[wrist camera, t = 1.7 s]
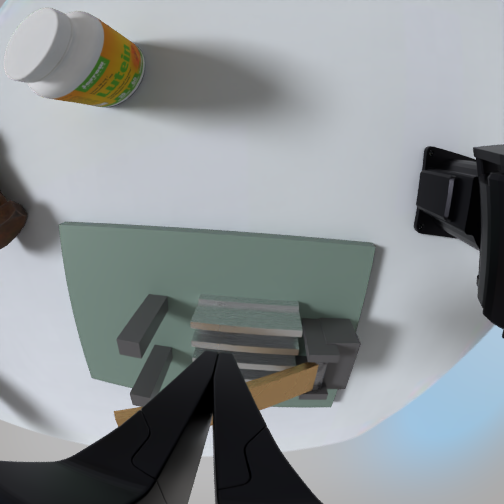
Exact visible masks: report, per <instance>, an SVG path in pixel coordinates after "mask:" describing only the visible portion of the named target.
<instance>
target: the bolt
mask: <svg viewBox="0 0 504 504" xmlns="http://www.w3.org/2000/svg"><path fill="white" fill-rule="evenodd" d="M26 220H27V213H26V211H25V210H24V208H23V206H22V205H20V204H18V203H16V202H14V201H11V200H10V201H8V202H7V200H6V198H5V196H3V194H2V192H1V191H0V249H2V248H3V247H5V246H7V245H8V244H9V243H10V242H11V241H12V240H13V239H14V238H15V237H16V236H17V235H18V234H19V233H20V232H21V230H22V228H23V227H24V225H25V223H26Z"/></svg>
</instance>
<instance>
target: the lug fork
mask: <svg viewBox="0 0 504 504" xmlns="http://www.w3.org/2000/svg"><path fill="white" fill-rule="evenodd" d="M167 312H168V297H167V296H162V295H154V294H148V296H147V297H146V298H145V300H144V301H143V303H142V304H141V305H140V307H139V308H138V309H137V311H136V312H135V313H134V315H133V316H132V318H131V319H130V320H129V322H128V323H127V325H126V326H125V327H124V329H123V330H122V332H121V333H120V334H119V336H118V337H117V339H116V340H117V345H118V349H119V354H120V355H125V356H130V357H135V358H140V359H142V357H143V355H144V353H145V352H146V350H147V348H148V346H149V344H150V342H151V340H152V339H153V337H154V335H155V333H156V331H157V330H158V328H159V326H160V324H161V322H162V320H163V319H164V317H165V315H166V313H167ZM172 359H173V355H172V347H168V346H161V345H154V347H153V349H152V351H151V353H150V355H149V356H148V358H147V360H146V362H145V364H144V366H143V368H142V370H141V372H140V374H139V376H138V378H137V380H136V382H135V384H134V386H133V388H132V390H131V392H130V396H131V400H132V403H133V405H136V406H141V407H143V406H144V405H146V404H147V403H148V402H149V401H150V400H151V399H152V398H153V397H155V396H156V395H157V394H158V393H159V391H160V389H161V386H162V384H163V381H164V379H165V376H166V374H167V371H168V369H169V366H170V364H171V361H172Z"/></svg>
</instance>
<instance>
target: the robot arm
mask: <svg viewBox="0 0 504 504" xmlns="http://www.w3.org/2000/svg"><path fill="white" fill-rule="evenodd" d="M430 150H431V151H432V156H430V153H429V152H430ZM473 152H474V157H476V160H475V159H472V158H469V157H466V156H463V155H460V154H456V153H453V152H450V151H447V150H443V149H440V148H436V147H431V146H428V147H426V148H425V150H424V158H423V168H422V172H421V173H420V181H419V189H418V196H417V202H416V205H417V211H416V217H415V222H414V229H415V230H416V231H417V232H418V233H421V234H429V235H436V236H444V237H451V238H458V239H460V240H462V241H463V242H465V243H467V244H469V245H470V246H472V247H474V248H475V249H477V250H479V251H480V260H479V275H478V276H477V286H478V299H479V301H480V303H481V306H482V307H483V315H484V316H485V317H487V318H488V319H489V320H490V321H491V322H492V323H493V324H495V325H497V326H498V327H500V328H502V329H504V144H503V145H492V146H481V147H473ZM420 224H422V227H421V228H420V229H419V225H420ZM502 337H503V338H504V330H503V334H502ZM212 415H213V458H214V484H215V504H323V503H322V502H321V501H320V500H319V499H318V498H317V497H316V496H315V495H314V494H313V493H312V492H311V490H310V489H309V488H308V487H307V485H306V484H305V483H304V482H303V481H302V479H301V478H300V477H299V475H298V474H297V473H296V471H295V470H294V469H293V468H292V467H291V465H290V464H289V462H288V461H287V459H286V458H285V457H284V455H283V454H282V452H281V451H280V449H279V447H278V446H277V444H276V442H275V440H274V439H273V437H272V435H271V433H270V431H269V429H268V428H267V425H266V423H265V421H264V419H263V417H262V415H261V413H260V411H259V409H258V407H257V405H256V403H255V401H254V399H253V397H252V394H251V392H250V390H249V388H248V386H247V384H246V382H245V380H244V377H243V375H242V373H241V371H240V369H239V367H238V364H237V362H236V360H235V358H234V356H233V354H232V353H226V352H220V353H218V352H217V351H209V350H206V351H204V352H203V353H202V354H201V355H200V356H199V357H198V358H196V359H195V360H194V361H193V362H192V363H191V364H190V365H189V366H188V367H187V368H186V369H185V370H183V371H182V372H181V373H180V374H179V375H178V376H177V377H176V378H175V379H174V380H172V381H171V382H170V383H169V384H168V385H167V386H166V387H165V388H164V389H162V390H161V391H160V392H159V393H158V394H157V395H156V396H155V397H153V398H152V399H151V400H150V401H149V402H148V403H147V404H146V405H144V406H143V407H142V408H141V410H139V411H137V412H136V413H135V414H134V415H133V416H132V417H130V418H129V419H128V420H127V421H125V422H124V423H123V424H122V425H120V426H119V427H118V428H116V429H115V430H113V431H112V432H110V433H109V434H107V435H106V436H104V437H103V438H101V439H100V440H98V441H96V442H95V443H93V444H92V445H90V446H88V447H87V448H85V449H83V450H82V451H80V452H79V453H77V454H75V455H73V456H71V457H69V458H67V459H64V460H61V461H55V462H12V461H0V504H188V501H189V497H190V494H191V490H192V487H193V484H194V480H195V477H196V473H197V470H198V466H199V463H200V459H201V456H202V452H203V449H204V445H205V442H206V438H207V435H208V431H209V428H210V424H211V420H212Z"/></svg>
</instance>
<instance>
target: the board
mask: <svg viewBox="0 0 504 504" xmlns="http://www.w3.org/2000/svg"><path fill="white" fill-rule="evenodd" d="M59 233H60V241H61V249H62V256H63V263H64V269H65V275H66V281H67V286H68V291H69V296H70V301H71V305H72V310H73V314H74V318H75V322H76V326H77V330H78V334H79V338H80V341H81V345H82V348H83V352H84V355H85V358H86V361H87V365H88V368H89V371H90V374H91V377H92V378H94V379H98V380H101V381H105V382H109V383H113V384H117V385H121V386H125V387H130V388H133V386H134V384H135V382H136V380H137V378H138V376H139V374H140V372H141V370H142V368H143V366H144V364H145V362H146V360H147V358H148V356H149V355H150V353H151V351H152V349H153V347H154V345H161V346H168V347H172V355H173V359H172V361H171V364H170V366H169V369H168V371H167V374H166V376H165V379H164V381H163V384H162V386H161V389H160V391H161V390H162V389H164V388H165V387H166V386H167V385H168V384H169V383H170V382H171V381H172V380H174V379H175V378H176V377H177V376H178V375H179V374H180V373H181V372H182V371H183V370H185V369H186V368H187V367H188V366H189V365H190V364H191V363H192V362H193V361H192V357H193V354H194V351H195V348H196V347H192V345H191V340H192V337H193V335H194V332H195V329H193V328H191V324H190V321H191V319H192V317H193V314H194V312H195V309H196V307H197V304H198V302H199V301H198V299H199V296H200V294H210V295H221V296H232V297H245V298H257V299H271V300H286V301H298V303H299V314H300V319H301V322H302V318H311V319H319V318H341V319H350V321H351V323H352V325H353V327H354V330H355V332H356V329H357V325H358V322H359V318H360V314H361V310H362V306H363V302H364V298H365V294H366V290H367V286H368V281H369V277H370V272H371V268H372V263H373V258H374V253H375V248H376V247H375V246H374V245H373V244H372V243H369V242H358V241H347V240H336V239H324V238H313V237H301V236H288V235H276V234H263V233H249V232H236V231H222V230H207V229H192V228H176V227H159V226H142V225H124V224H104V223H83V222H64V223H62V224H59ZM148 294H154V295H162V296H167V297H168V312H167V313H166V315H165V317H164V319H163V320H162V322H161V324H160V326H159V328H158V330H157V331H156V333H155V335H154V337H153V339H152V340H151V342H150V344H149V346H148V348H147V350H146V352H145V353H144V355H143V357H142V359H140V358H135V357H130V356H125V355H120V354H119V349H118V345H117V340H116V339H117V337H118V336H119V334H120V333H121V332H122V330H123V329H124V327H125V326H126V325H127V323H128V322H129V320H130V319H131V318H132V316H133V315H134V313H135V312H136V311H137V309H138V308H139V307H140V305H141V304H142V303H143V301H144V300H145V298H146V297H147V296H148ZM297 338H298V345H299V353H298V355H296V356H307V355H306V349H305V344H304V338H303V333H302V337H297ZM294 356H295V355H294ZM337 390H338V389H327V391H328V396H327V399H326V400H299V398H298V396H296V397H294V398H291V399H289V400H286V401H284V402H281V403H278V404H276V405H273V406H270V407H331V406H332V404H333V401H334V398H335V395H336V393H337ZM160 391H159V392H160Z"/></svg>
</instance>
